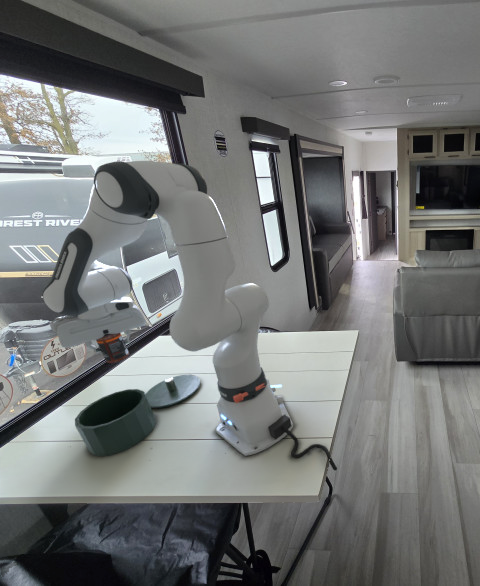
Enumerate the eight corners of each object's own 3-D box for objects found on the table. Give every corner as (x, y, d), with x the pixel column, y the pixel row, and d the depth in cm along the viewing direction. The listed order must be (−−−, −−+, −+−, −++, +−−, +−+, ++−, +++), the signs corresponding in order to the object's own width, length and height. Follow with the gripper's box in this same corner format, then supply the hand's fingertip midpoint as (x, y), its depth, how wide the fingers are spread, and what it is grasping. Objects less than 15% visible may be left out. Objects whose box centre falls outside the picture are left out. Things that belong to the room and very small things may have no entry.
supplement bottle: (134, 353, 102) (121, 323, 98) (118, 364, 97) (104, 332, 93) (118, 353, 103) (105, 323, 99) (101, 363, 97) (86, 332, 93)
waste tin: (160, 433, 87) (149, 406, 83) (91, 466, 77) (75, 438, 74) (151, 407, 96) (140, 382, 93) (88, 434, 87) (74, 407, 83)
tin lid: (206, 391, 102) (202, 378, 100) (149, 417, 92) (143, 403, 90) (193, 371, 113) (190, 359, 111) (140, 392, 103) (135, 380, 101)
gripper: (46, 323, 84) (68, 365, 90) (138, 300, 97) (153, 338, 103) (47, 316, 89) (68, 357, 94) (135, 295, 102) (149, 332, 107)
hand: (113, 347), depth 98 cm, fingers closed on supplement bottle, 6 cm apart
